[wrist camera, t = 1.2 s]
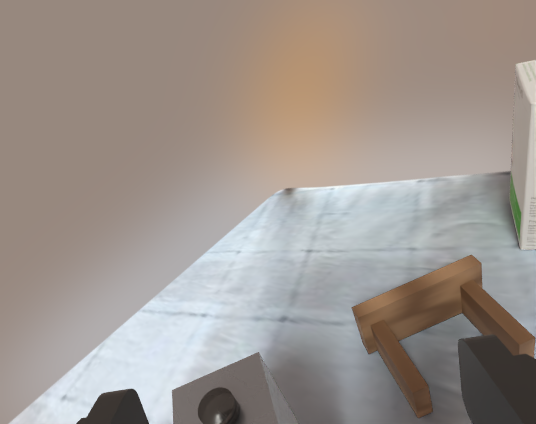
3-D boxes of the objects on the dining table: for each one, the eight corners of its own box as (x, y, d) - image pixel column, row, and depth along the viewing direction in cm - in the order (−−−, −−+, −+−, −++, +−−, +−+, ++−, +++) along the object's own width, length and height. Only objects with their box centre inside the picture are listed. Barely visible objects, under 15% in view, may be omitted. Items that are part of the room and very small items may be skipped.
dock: (473, 294, 36) (471, 254, 33) (542, 362, 29) (546, 319, 27) (363, 343, 35) (351, 307, 33) (408, 422, 29) (398, 386, 26)
